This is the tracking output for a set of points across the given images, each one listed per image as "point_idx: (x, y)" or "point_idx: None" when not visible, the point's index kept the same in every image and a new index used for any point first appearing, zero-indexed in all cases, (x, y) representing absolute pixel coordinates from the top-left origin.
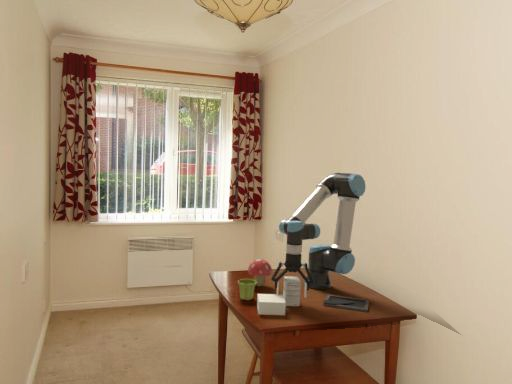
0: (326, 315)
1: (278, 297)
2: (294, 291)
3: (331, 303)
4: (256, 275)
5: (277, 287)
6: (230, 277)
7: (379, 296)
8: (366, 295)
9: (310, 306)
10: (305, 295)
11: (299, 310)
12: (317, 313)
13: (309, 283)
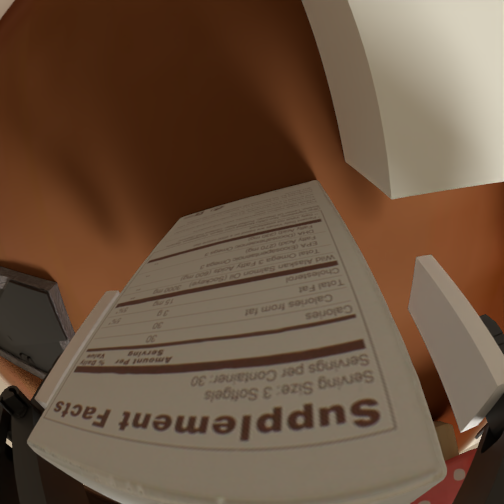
0: (3, 109)
1: (436, 34)
2: (191, 284)
3: (16, 286)
4: (470, 451)
5: (478, 321)
6: (477, 430)
7: (12, 384)
8: (32, 393)
9: (103, 240)
10: (103, 303)
11: (159, 99)
12: (38, 110)
13: (2, 394)
